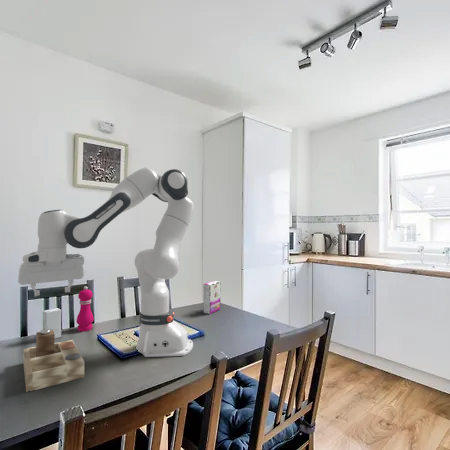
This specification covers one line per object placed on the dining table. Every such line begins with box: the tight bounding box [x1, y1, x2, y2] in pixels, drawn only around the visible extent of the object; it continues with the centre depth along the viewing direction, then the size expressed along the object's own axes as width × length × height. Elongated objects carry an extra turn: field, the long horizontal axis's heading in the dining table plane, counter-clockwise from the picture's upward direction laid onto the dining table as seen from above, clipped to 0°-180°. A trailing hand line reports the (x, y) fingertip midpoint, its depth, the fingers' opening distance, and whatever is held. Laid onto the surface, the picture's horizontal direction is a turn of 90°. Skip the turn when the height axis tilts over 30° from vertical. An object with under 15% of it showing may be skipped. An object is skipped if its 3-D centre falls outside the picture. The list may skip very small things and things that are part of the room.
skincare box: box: [42, 307, 62, 339], centre depth 128 cm, size 6×4×12 cm
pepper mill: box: [76, 285, 95, 332], centre depth 139 cm, size 7×7×20 cm
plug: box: [35, 328, 56, 357], centre depth 104 cm, size 5×5×11 cm
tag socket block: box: [22, 339, 85, 393], centre depth 100 cm, size 16×22×5 cm
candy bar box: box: [202, 280, 221, 315], centre depth 171 cm, size 11×5×16 cm, turn 149°
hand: (52, 294), depth 107 cm, fingers open, 8 cm apart
